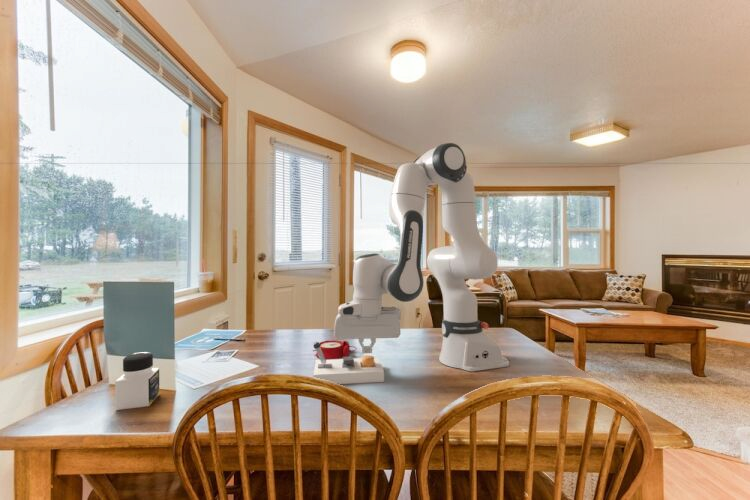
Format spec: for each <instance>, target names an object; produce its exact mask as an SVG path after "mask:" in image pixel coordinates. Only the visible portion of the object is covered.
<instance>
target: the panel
mask: <svg viewBox="0 0 750 500" xmlns="http://www.w3.org/2000/svg"><path fill="white" fill-rule="evenodd" d="M353 359H354V364H343V358H337V359H325V360H326V363H325V364H323V365H322V363H321V361H320V359H315V364H314V369H313V374H312V375H313V376H312V378H313V377H316V378H320V379H325V380H329V381H332V382H335V383H338V384H337V385H347V384H348V385H349V384H350V385H352V384H365V383H366V384H367V383H382V382H385V370H384V367H383V365H382V363H381V360H380V357H379V356H377V357H375V356H374V367H364V368H362V357H357V358H354V357H353Z"/></svg>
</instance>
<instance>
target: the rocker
mask: <svg viewBox="0 0 750 500" xmlns="http://www.w3.org/2000/svg"><path fill="white" fill-rule="evenodd" d="M353 358H354V356H351V355H350V356H348V357H342V359H343V364H354V359H353Z"/></svg>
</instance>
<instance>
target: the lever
mask: <svg viewBox="0 0 750 500" xmlns="http://www.w3.org/2000/svg"><path fill="white" fill-rule="evenodd" d="M313 348H314V349H315V350H316V351H315V352H316V353H317V354H318V356H319V358H318V359H319V360H320V361H321V363H322V365H323V364H325V363H326V360H327V359H325V357H324V355H323V353H322V350H321V348H320V342H317V341H316V342H314V343H313Z"/></svg>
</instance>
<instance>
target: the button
mask: <svg viewBox="0 0 750 500" xmlns="http://www.w3.org/2000/svg"><path fill="white" fill-rule="evenodd" d="M361 358H362V368H364V367H374V358H375V356H373V355H364V356H362V357H361Z"/></svg>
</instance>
